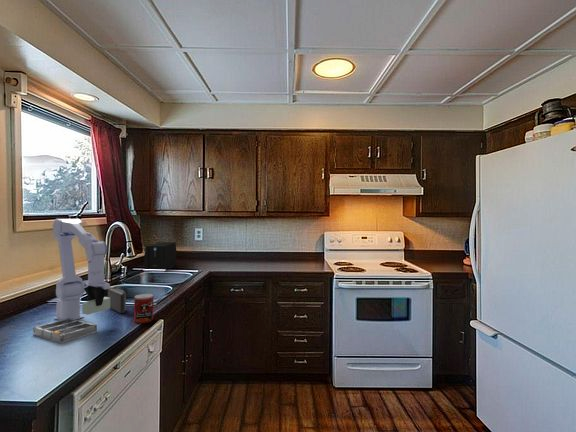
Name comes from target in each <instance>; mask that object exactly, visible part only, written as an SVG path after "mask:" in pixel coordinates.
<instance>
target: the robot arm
mask: <svg viewBox="0 0 576 432" xmlns="http://www.w3.org/2000/svg"><path fill="white" fill-rule="evenodd" d="M52 232H53V238H54V239H56V240H57V243H58V249H59V250H58V251H59V257H60V258H59V259H60V260H59V261H60V266H61V267H60V268H61V273H62V277H61V278H60V279H59V280H57V282H56V286H55V287H56V289H55V296H56V298H58V300H57V302H56V306H55V307H56V311H55V313H56V317H53V318H54V320H57V321H59V320H63V319H67V318H71V319H75V320H80V319H83V318H85V316H84V315H81V298H82V296H83V295H84V294H86V296H87V298H88V301H90V300H94V299H95V302H96V306H100V305H102V303H103V299H104V297H106V294H107V293H108V290H109V289H111V283H108V282H106V281H105V256H107V255H106V254H107V253H108V245H107V244H106V242H105V241H103V240H98V239H97V238H96V237H95V235H94V234H92V233H91V232H87V231H86V230H85V229H84V227H83V222H82V220H81V219H80V218H55V219H54V221H53V224H52ZM75 238H78V240H77V241H78V243H79V244H80V245H81V246H82V247H83V248H84V252H85V255H86V256H85V257H86V261H87V262H88V263H87V264H88V265H87V271H88V272H87V280H83V279H82V278H81V277H80V276H78V275H76V267H75V259H74V253H73V252H74V251H73V243H72V240H73V239H75ZM85 286H86V287H85Z"/></svg>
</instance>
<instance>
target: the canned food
mask: <svg viewBox="0 0 576 432" xmlns="http://www.w3.org/2000/svg"><path fill="white" fill-rule="evenodd" d="M133 299H134V303H133V304H134V308H133V310H134V312H133V313H134V314H133V315H134V319H133V320H134V322H135V324H148V323H150V322H153V320H154V295H153V294H152V293H140V294H136V295H135V296H134V298H133Z"/></svg>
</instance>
